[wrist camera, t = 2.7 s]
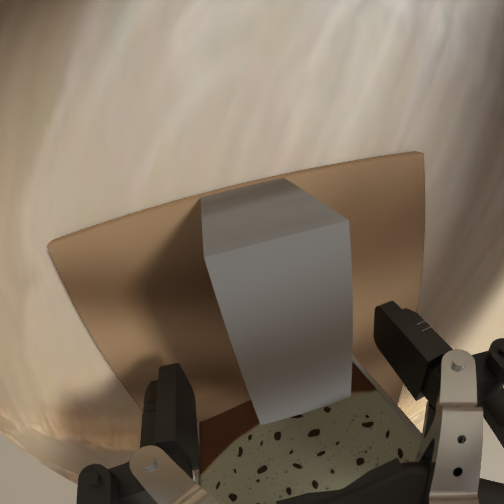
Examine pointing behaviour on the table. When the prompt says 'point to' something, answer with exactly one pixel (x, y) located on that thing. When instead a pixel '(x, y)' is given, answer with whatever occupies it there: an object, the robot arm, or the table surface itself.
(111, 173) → the table surface
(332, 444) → the food container
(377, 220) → the walnut board
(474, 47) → the table surface
